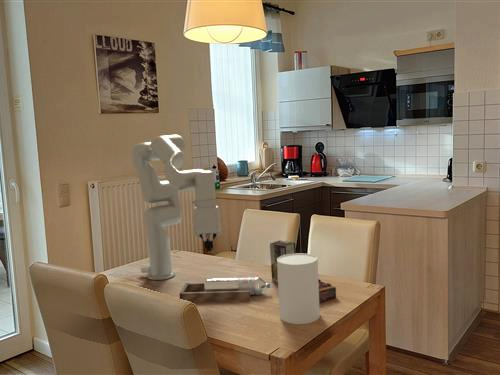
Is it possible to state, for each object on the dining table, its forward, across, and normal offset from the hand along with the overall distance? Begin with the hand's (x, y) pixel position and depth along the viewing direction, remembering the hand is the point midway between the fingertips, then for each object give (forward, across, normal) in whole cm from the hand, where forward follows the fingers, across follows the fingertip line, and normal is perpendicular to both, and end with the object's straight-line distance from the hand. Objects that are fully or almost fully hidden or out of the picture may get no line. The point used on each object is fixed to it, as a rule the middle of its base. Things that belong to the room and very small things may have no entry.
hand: (209, 250), depth 190 cm
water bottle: (+15, -3, 0) cm, 15 cm away
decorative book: (+19, +39, -3) cm, 43 cm away
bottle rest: (+18, +2, 0) cm, 18 cm away
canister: (+18, +33, -22) cm, 44 cm away
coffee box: (+18, +28, +16) cm, 37 cm away
